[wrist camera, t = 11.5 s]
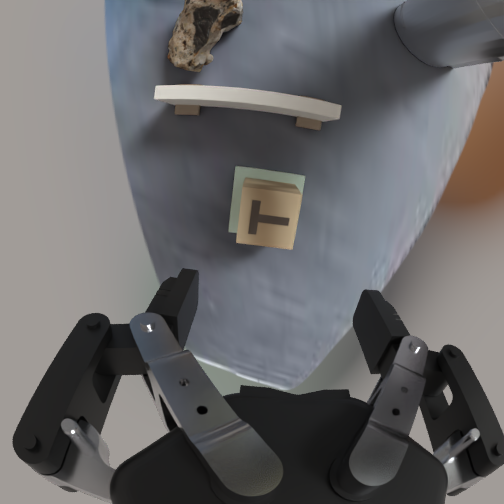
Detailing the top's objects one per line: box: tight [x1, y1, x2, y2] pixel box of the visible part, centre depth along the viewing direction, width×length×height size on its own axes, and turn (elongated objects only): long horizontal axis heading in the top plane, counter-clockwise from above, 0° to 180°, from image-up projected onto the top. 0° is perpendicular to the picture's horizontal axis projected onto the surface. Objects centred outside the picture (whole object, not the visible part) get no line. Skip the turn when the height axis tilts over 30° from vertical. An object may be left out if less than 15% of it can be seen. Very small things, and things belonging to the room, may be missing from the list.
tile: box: [228, 166, 305, 233], centre depth 28 cm, size 7×7×1 cm
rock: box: [168, 0, 243, 72], centre depth 18 cm, size 9×7×10 cm
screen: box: [154, 84, 342, 131], centre depth 21 cm, size 15×3×6 cm, turn 83°
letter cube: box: [236, 177, 302, 250], centre depth 25 cm, size 5×5×5 cm
